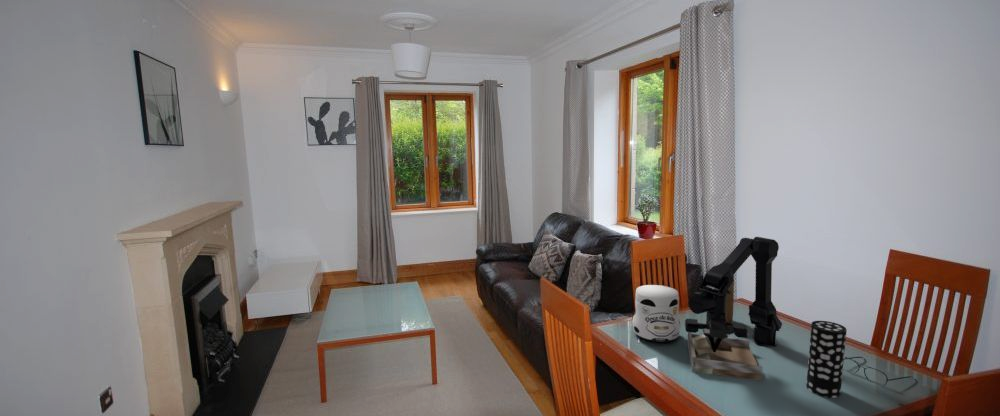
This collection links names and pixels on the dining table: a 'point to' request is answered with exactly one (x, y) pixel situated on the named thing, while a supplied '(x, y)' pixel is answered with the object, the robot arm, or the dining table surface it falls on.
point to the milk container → (656, 313)
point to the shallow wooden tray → (726, 359)
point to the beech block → (702, 344)
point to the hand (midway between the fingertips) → (714, 351)
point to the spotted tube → (826, 358)
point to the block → (729, 304)
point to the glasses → (875, 369)
